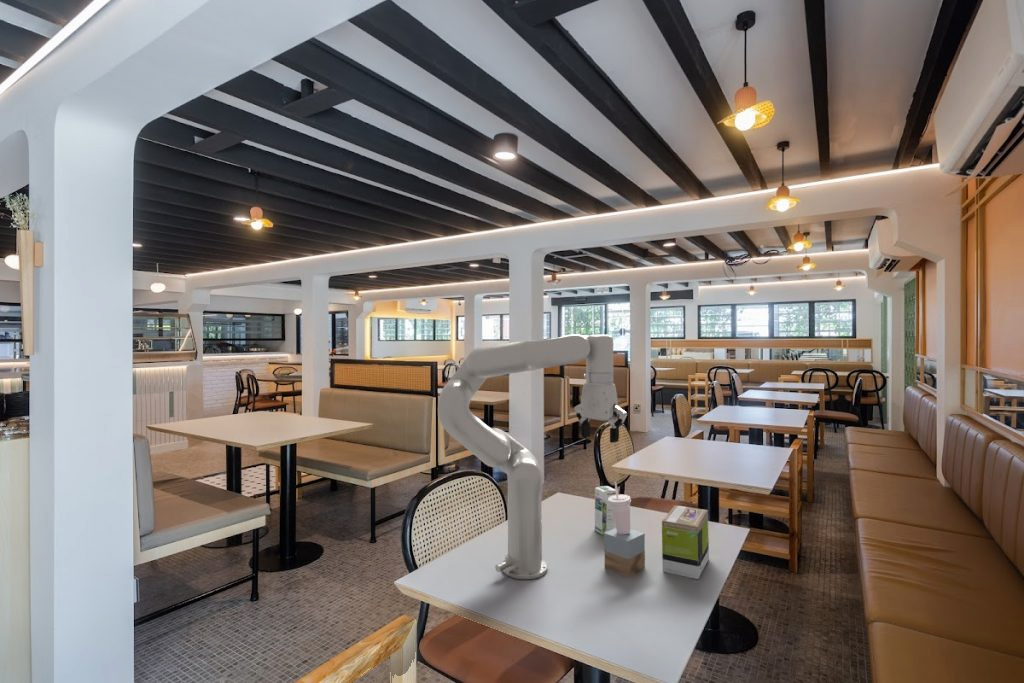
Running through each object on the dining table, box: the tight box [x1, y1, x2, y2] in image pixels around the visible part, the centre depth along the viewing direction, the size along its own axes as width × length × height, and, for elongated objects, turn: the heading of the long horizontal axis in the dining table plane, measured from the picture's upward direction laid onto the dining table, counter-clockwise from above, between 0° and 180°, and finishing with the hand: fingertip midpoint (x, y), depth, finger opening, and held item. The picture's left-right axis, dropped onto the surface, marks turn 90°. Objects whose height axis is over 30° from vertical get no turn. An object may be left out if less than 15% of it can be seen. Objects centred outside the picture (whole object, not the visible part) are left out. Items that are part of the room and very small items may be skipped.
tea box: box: [661, 504, 710, 580], centre depth 148 cm, size 15×10×15 cm, turn 149°
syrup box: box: [594, 485, 616, 537], centre depth 173 cm, size 6×6×14 cm
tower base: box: [604, 551, 646, 578], centre depth 147 cm, size 8×8×5 cm
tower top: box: [603, 528, 646, 559], centre depth 147 cm, size 8×8×5 cm
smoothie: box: [608, 482, 632, 534], centre depth 147 cm, size 6×6×14 cm
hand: (599, 439), depth 146 cm, fingers open, 9 cm apart
